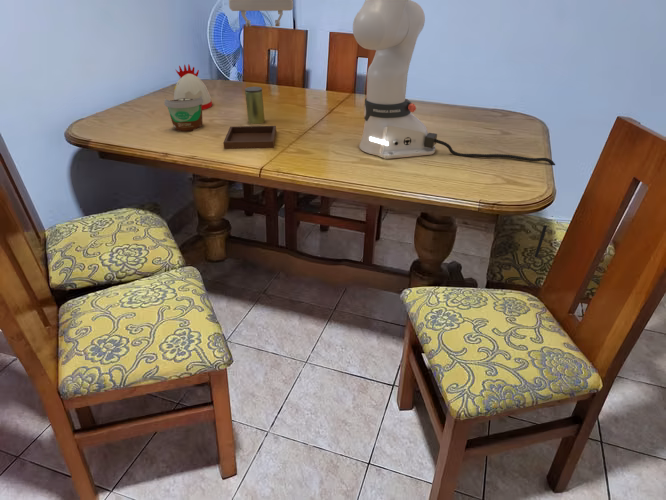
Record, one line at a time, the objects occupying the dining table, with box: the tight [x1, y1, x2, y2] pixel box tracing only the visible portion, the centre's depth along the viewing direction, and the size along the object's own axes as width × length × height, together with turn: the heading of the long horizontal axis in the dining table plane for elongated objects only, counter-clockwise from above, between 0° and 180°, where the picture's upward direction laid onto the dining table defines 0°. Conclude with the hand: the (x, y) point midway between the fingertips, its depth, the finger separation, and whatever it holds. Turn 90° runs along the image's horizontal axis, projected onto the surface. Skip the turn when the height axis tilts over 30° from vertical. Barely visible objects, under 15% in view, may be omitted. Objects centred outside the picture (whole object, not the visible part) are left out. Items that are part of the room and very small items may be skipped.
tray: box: [223, 125, 277, 150], centre depth 143 cm, size 15×15×2 cm
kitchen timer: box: [173, 63, 213, 111], centre depth 172 cm, size 14×14×15 cm
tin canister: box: [244, 86, 266, 125], centre depth 156 cm, size 6×6×11 cm
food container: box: [164, 96, 204, 133], centre depth 150 cm, size 12×6×10 cm, turn 105°
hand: (263, 26), depth 150 cm, fingers open, 8 cm apart
